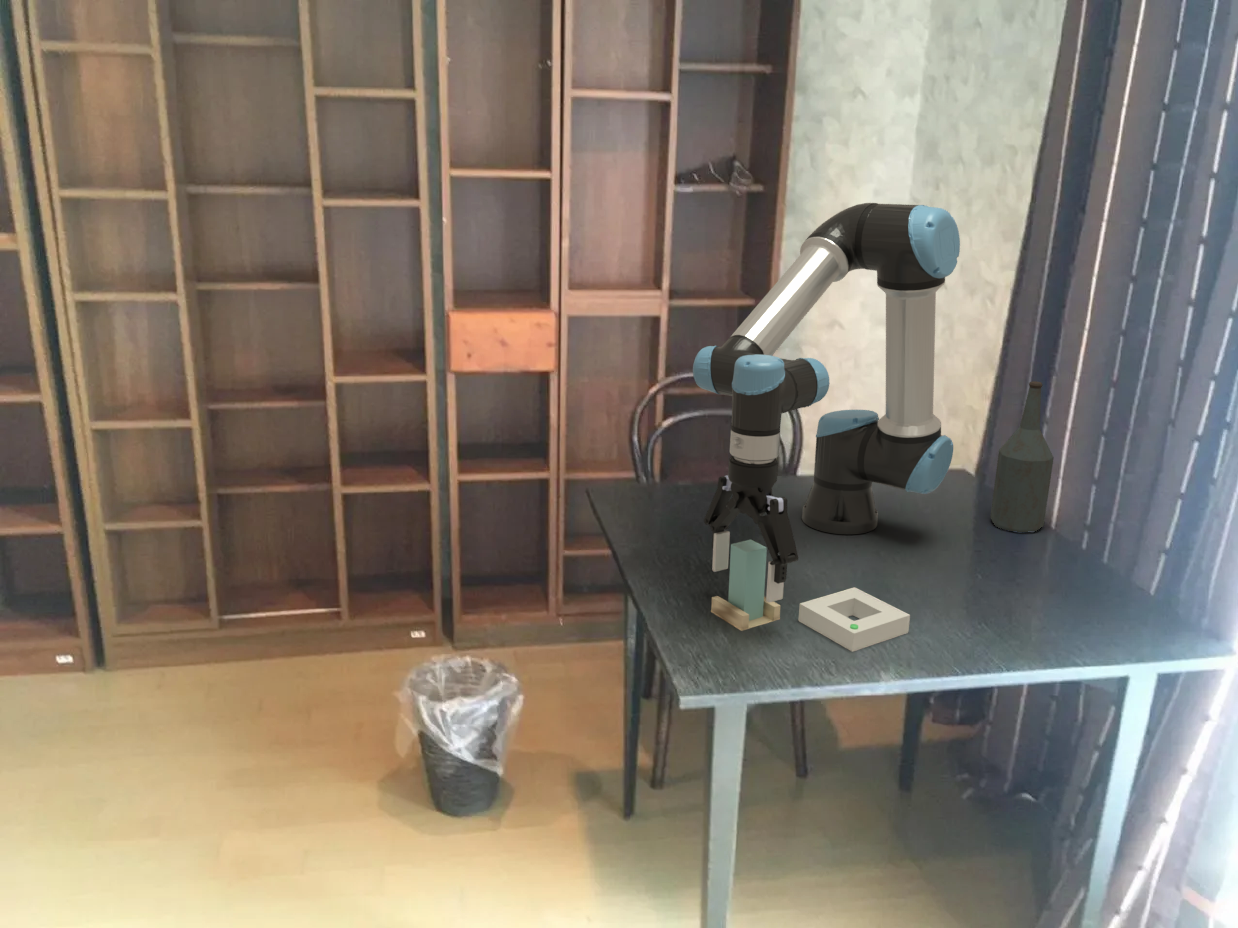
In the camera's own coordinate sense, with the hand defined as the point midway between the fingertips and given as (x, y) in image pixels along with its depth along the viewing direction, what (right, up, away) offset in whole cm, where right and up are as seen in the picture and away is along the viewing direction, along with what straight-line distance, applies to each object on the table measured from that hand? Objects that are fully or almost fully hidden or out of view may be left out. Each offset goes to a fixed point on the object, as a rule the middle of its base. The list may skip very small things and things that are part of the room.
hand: (746, 584), depth 163 cm
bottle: (+61, +7, +46) cm, 77 cm away
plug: (0, -5, +2) cm, 5 cm away
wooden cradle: (0, -7, +2) cm, 7 cm away
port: (+17, -8, -1) cm, 18 cm away
